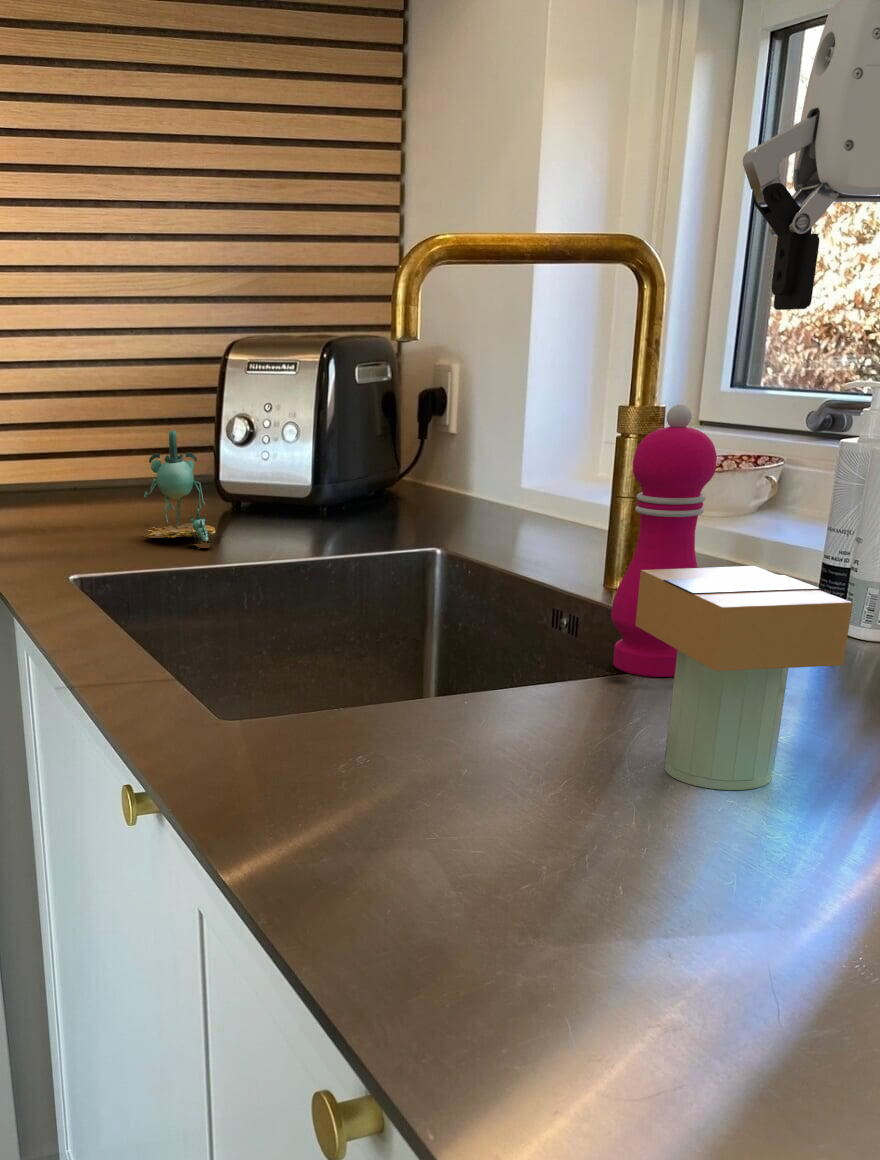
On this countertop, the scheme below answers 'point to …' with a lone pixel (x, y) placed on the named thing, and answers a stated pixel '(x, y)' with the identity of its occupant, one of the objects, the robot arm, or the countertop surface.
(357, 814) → the countertop surface
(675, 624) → the packet
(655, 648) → the pepper mill
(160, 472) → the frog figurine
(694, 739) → the cup
